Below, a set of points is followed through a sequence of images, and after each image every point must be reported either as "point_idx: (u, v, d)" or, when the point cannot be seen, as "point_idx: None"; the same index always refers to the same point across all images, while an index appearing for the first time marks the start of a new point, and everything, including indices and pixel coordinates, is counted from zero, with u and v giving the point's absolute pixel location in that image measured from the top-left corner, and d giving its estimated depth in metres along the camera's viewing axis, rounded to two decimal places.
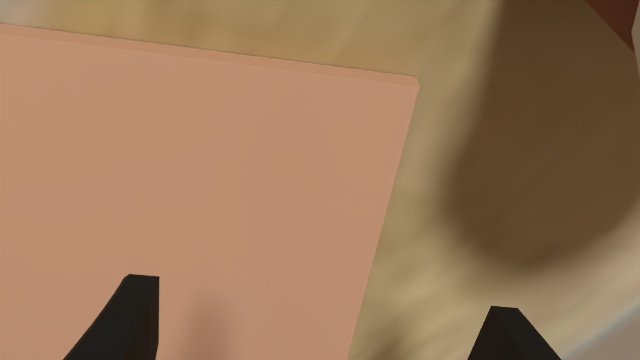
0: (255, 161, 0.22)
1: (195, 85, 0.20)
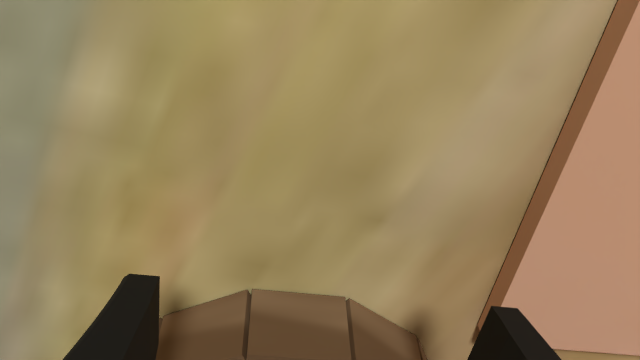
0: None
1: None
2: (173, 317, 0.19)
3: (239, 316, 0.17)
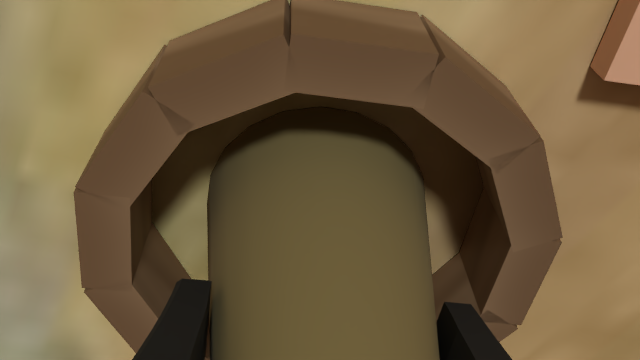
0: None
1: None
2: (182, 38, 0.14)
3: (275, 12, 0.13)
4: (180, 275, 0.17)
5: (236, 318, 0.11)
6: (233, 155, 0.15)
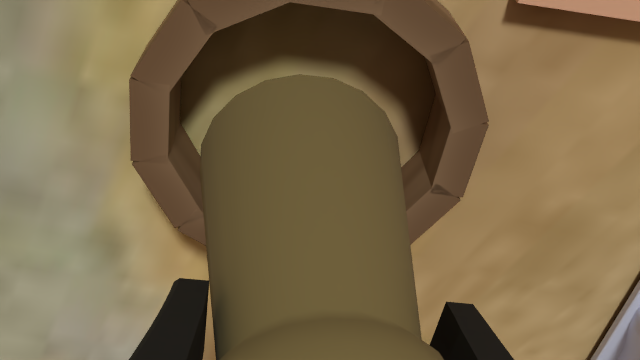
0: None
1: None
2: None
3: None
4: None
5: (232, 258, 0.12)
6: (221, 123, 0.16)
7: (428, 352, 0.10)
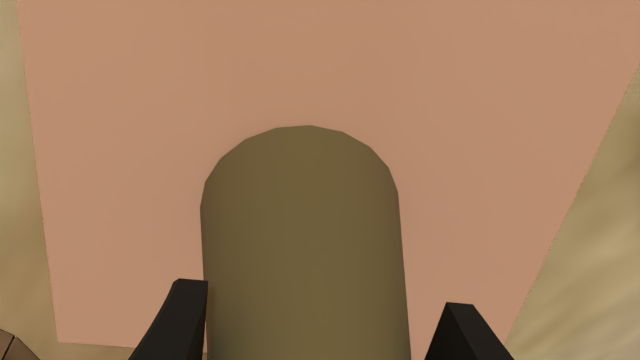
0: (447, 56, 0.16)
1: None
2: None
3: None
4: None
5: (236, 313, 0.13)
6: (229, 165, 0.16)
7: None
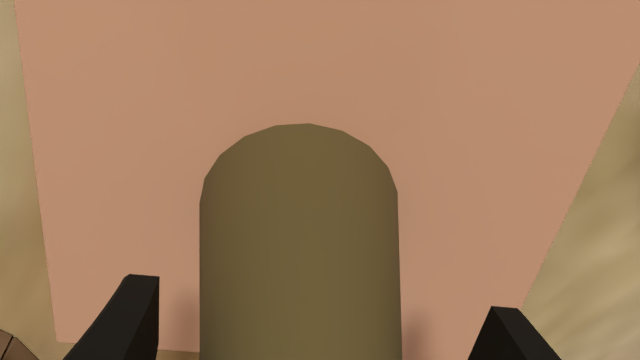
0: (446, 55, 0.16)
1: None
2: None
3: None
4: None
5: (227, 309, 0.13)
6: (227, 162, 0.16)
7: None
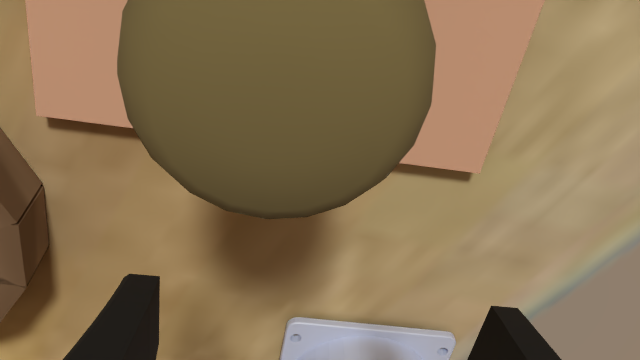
0: None
1: None
2: None
3: None
4: None
5: None
6: None
7: None
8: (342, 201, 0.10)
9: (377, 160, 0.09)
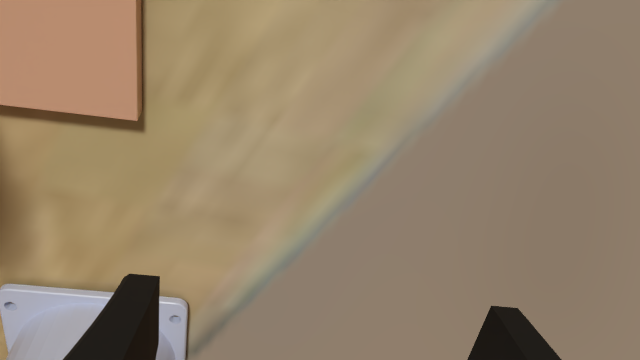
0: None
1: None
2: None
3: None
4: None
5: None
6: None
7: None
8: None
9: None
